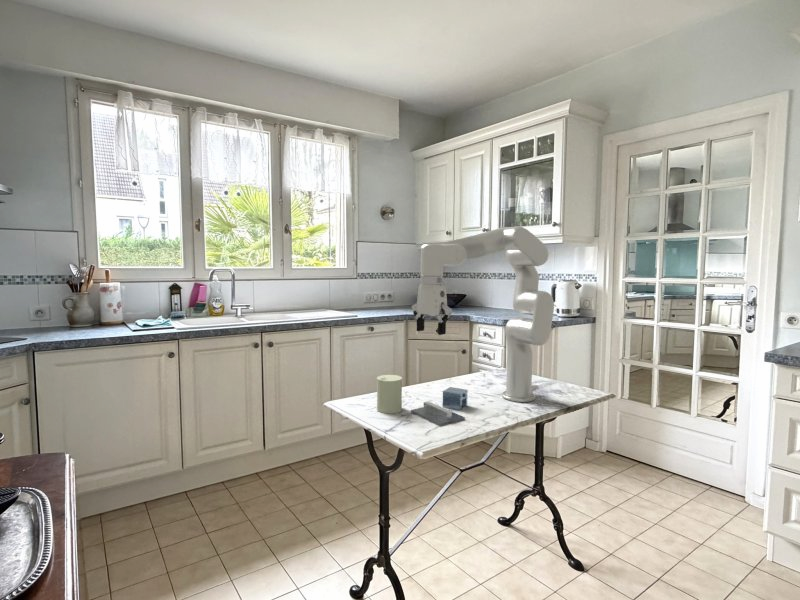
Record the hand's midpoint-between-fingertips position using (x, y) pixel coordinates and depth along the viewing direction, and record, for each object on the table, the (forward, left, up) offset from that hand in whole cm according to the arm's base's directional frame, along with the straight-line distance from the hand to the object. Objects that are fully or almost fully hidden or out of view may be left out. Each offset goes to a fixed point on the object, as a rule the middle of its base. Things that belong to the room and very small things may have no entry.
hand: (430, 332), depth 150 cm
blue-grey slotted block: (-16, -5, -30) cm, 34 cm away
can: (+6, -15, -30) cm, 34 cm away
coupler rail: (-4, 0, -29) cm, 30 cm away
